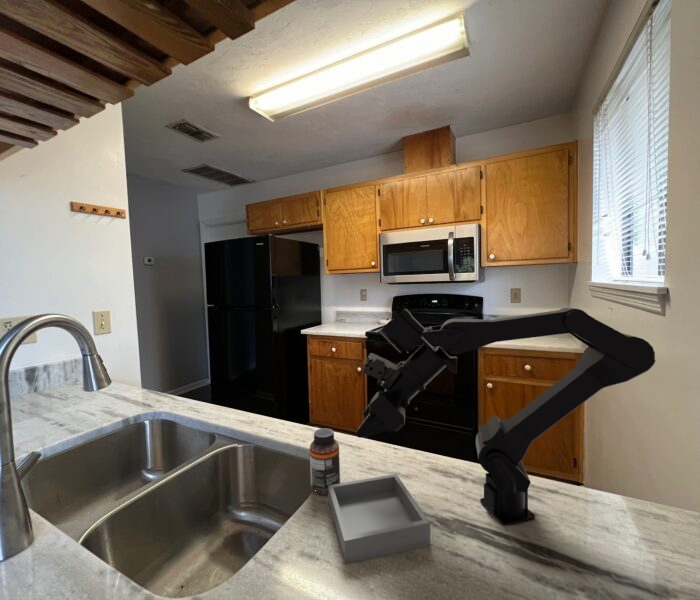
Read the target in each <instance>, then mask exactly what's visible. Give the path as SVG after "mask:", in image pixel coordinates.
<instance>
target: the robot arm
mask: <svg viewBox="0 0 700 600" xmlns="http://www.w3.org/2000/svg"><path fill="white" fill-rule="evenodd" d="M379 333H380V334H381V335H382V336H383V338H385V340H387V342H388V343H390V345H392V346H393V348H394V349H395V350H397V351H398V352H399V353H402V352H403V354H405V353H407V354H410V353H411V352H412V351H413V350H414V349H415V348H416V347H418V346H419V344H420V343H422V345H421V346H419V348H417V350H415V352H414V353H412V354H411V355H409V357H408V358H407V359H406V360H405V361H404V360H402V361H400V362H399V363H397V364H396V363H393V362H391V361H390V360H388V359H387V358H384V357H383V356H382V357H381V356H379V355H377V354H375V353H374V352H370V353H369V355H368V356H367V358H366V360H365V362H364V365H363V366H362V370H361V372H362V373H363V374H364V375H366V376H371V377H373V378H375V379H377V382H376V393H375V395H373V397H372V398H371V399H370V401H369V404H368V405H367V406H366V408H365V410H364V411H363V413H362V415H363V416H364V417H365V418H364V420H363V422H362V423H361V424H360V425H359V427H358V428H357V430H356V431H355V435H356V437H358V438H364V437H367V436H372V435H376V434H379V433H384V432H389V431H390V432H393V431H394V432H395V433H396V432H398V431H399V430H401V429H402V428H403V427H404V426H405V422H406V408H408V406H409V405H410V401H411V400H412V399H413V398H414V397H415V396H416V395H418V393H419V392H420V393H421V394H423V393H424V391H426V386H427V385H428V384H429V383H430V382H431V381H432V380H433V379H434V378H435V377H436V376H438V375H439V374H440V373H441V372H442V371H443V370H444V369H445V368H446V367H447V368H448V369H449V370H450V371H451V372H452V373H453V374H457V373H458V369H457V368H458V367H457V365H458V361H459V359H458V357H457V356H456V355H460V354H464V353H468V352H472V351H475V350H478V349H480V348H483V347H486V346H488V345H492V344H494V343H500V342H506V341H508V342H509V341H514V340H515V341H516V340H522V339H530V338H538V337H547V336H549V337H550V336H555V335H556V336H557V335H563V334H564V335H565V334H569V335H571V336H572V337H574V338H576V340H578V341H579V342H581V343H583V345H586V346H587V347H586V348H585V350H583V352H582V354H581V356H580V358H579V360H578V363H577V364H576V365H575V367H574V368H573V369H571V370H570V371H568V372H567V373H566V374H565V375H564V376H562V377H561V378H560V379H558V380H557V381H556V382H554V384H552V385H551V386H550V387H549V388H547V389H546V390H544V391H543V392H542V393H541V394H540V395H538V396H537V397H536V398H534V400H532V401H530V403H528V404H527V405H526V406H524V408H522V409H520V411H518V412H517V413H515V414H514V415H513V416H512V417H510V418H506V419H501V420H500V419H499V417H498V415H496V414H495V415H493V416H492V417H491V418H489V420H488V421H487V422H486V423H485V424H483V425H479V426H478V429H479V432H477V434H476V436H475V447H476V452H477V453H476V454H477V459H478V461H479V465H480V466H481V468H482V469H483V470H485V472H486V473H485V483H484V484H483V497H482V498H480V499H479V503H480V504H481V505H483V506H484V507H485V509H486V510H487V511H488V512H489V513H490V514H491V515H492V516H493V517H494V518H495V519H497V521H498V522H499V523H500V524H501V525H503V526H510V525H514V524H519V523H523V522H529V521H532V520H536V514H535V513H533V512H532V511H531V510H530V509H529V487H530V485H531V479H530V477H529V475H528V473H527V471H526V467H525V466H524V463H523V460H524V459H525V456H526V454H527V452H528V450H529V448H530V446H531V444H532V443H533V442H534V441H536V440H537V439H538V438H540V436H542V435H543V434H544V433H546V432H547V431H549V429H551V428H552V427H553V426H555V425H556V424H558V423H559V422H560V421H562V419H564V418H566V417H567V416H568V415H569V414H570V413H572V412H573V411H575V410H576V409H577V408H579V407H580V406H581V405H582V404H583V403H586V401H588V400H589V399H590V398H591V397H593V396H594V395H596V394H597V393H598V392H599V391H601V390H603V389H605V388H607V387H612V386H616V385H618V384H623V383H627V382H629V381H632V379H634V378H636V377H638V376H640V375H641V376H642V375H643V374H644V373H646V372H648V371H649V370H651V369H652V367H653V366H654V365H655V363H656V358H655V357H656V355H655V353H656V352H655V351H654V347H653V346H652V344H650V343H649V341H647V340H645V339H644V338H640V337H637V336H634V335H631V334H630V335H629V334H626V333H622V332H620V331H618V330H617V329H614V328H613V327H610V326H609V325H607V324H605V323H603V322H601V321H599V320H597V319H596V318H594V317H592V316H591V315H590V314H588V312H586V311H584V310H583V309H579V308H573V307H563V308H560V309H557V310H549V311H543V312H537V313H536V312H535V313H529V314H523V315H522V314H520V315H515V316H507V317H501V318H494V319H478V318H450V319H447V320H446V321H444V323H442V325H433V326H431V325H430V326H426V327H424V326H423V325H422V323H420V322H419V320H417V319H416V318H415V317H414V316H413V315H412V313H411V312H410V310H409V309H408V308H404V309H402V310H401V312H399V313H398V314H397V315H396V316H395V317H394V318H393V319H391V320H389V321H388V322H386V324H385V325H384V326H383V327H382V329H381V330H380V331H379ZM433 345H435V346H436V347H434V346H433ZM447 352H448V353H449V354H451V355H452V354H453V355H455V356H451V355H449V354H448V353H447Z"/></svg>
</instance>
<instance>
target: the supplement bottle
mask: <svg viewBox="0 0 700 600" xmlns="http://www.w3.org/2000/svg"><path fill="white" fill-rule="evenodd" d="M309 466H310V467H309V468H310V471H309V472H310V475H309V476H310V488H311V490H312V491H313V492H314V493H315V494H317V495H321V496H324V495H328V485H333V484H339V483H341V469H340V468H341V465H340V446H339V441H337V440H336V439H335V432H334V430H333V429H331V428H327V427H325V428H323V427H322V428H318V429H316V430H315V431H314V432H313V441H311V443H310V445H309ZM315 490H316V491H315Z"/></svg>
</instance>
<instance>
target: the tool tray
mask: <svg viewBox="0 0 700 600" xmlns="http://www.w3.org/2000/svg"><path fill="white" fill-rule="evenodd" d="M327 496H328V497H327V498H328V499H327V500H328V507H329V510H330V514H331V519H332V521H333V525H334V529H335V533H336V536H337V540H338V543H339V549H340V552H341V555H342V559H343V563H344V565H349V564H353V563H357V562H363V561H366V560H370V559H375V558H378V557H383V556H388V555H393V554H397V553H401V552H405V551H409V550H414V549H418V548H423V547H426V546H431V522H430V521H429V519H428V518H427V516H426V515H425V513H424V512H423V510H422V509H421V507H420V506H419V505H418V503H417V501H416V500H415V498H414V497H413V496H412V494H411V493H410V491H409V490H408V489H407V487H406V486H405V483H403V481H402V480H401V478H400V476H399V475H398V474H397V473H393V474H386V475H381V476H377V477H376V476H375V477H370V478H365V479H358V480H352V481H351V480H350V481H346V482H340V483H339V484H333V485H328V494H327Z"/></svg>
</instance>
